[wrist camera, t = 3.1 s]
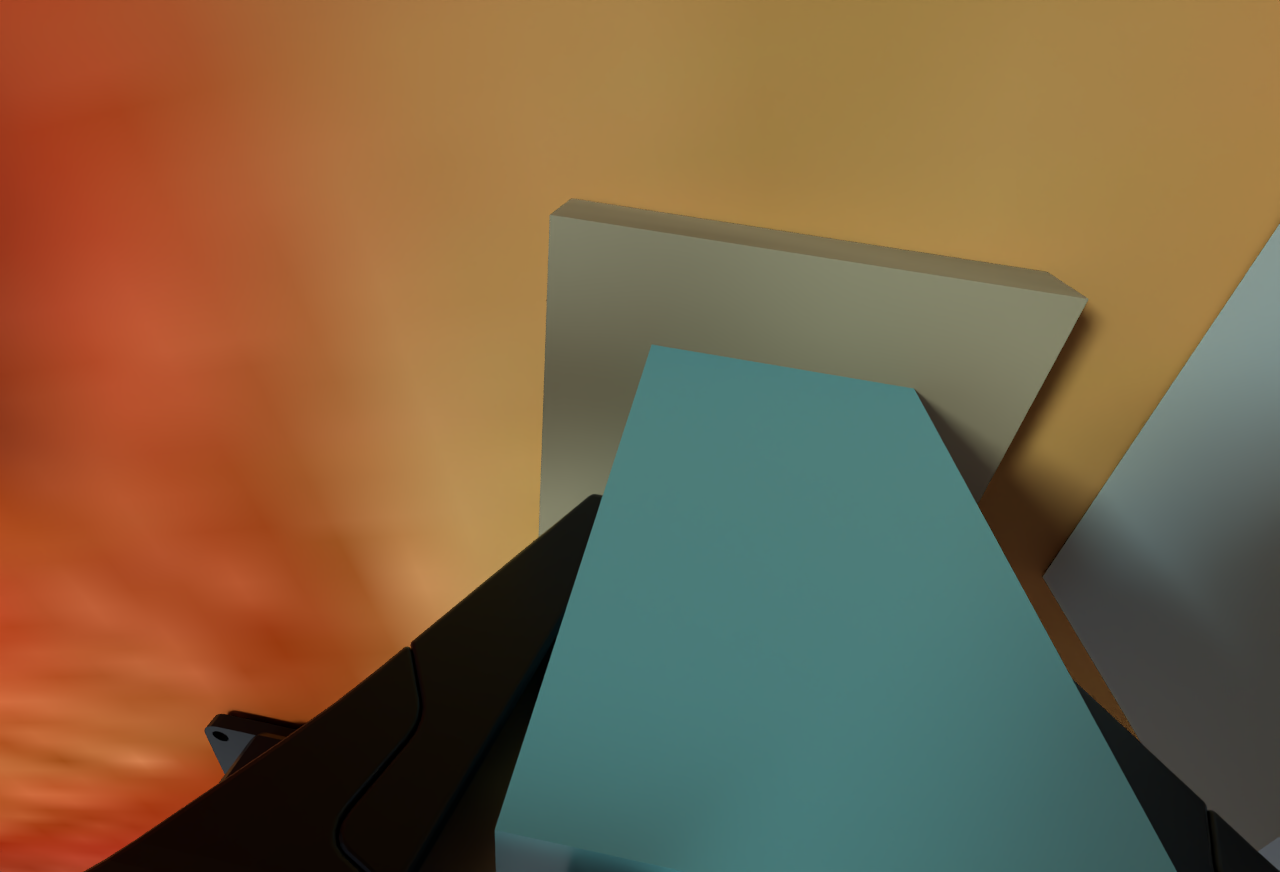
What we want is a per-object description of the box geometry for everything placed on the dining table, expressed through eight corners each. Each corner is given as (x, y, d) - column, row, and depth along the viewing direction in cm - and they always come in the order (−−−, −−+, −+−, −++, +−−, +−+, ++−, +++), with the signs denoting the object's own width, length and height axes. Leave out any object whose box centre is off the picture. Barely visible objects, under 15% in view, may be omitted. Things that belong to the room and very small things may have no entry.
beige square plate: (883, 606, 12) (896, 654, 11) (553, 543, 13) (537, 584, 12) (1047, 272, 9) (1088, 299, 8) (571, 198, 9) (550, 214, 8)
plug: (836, 578, 11) (956, 1225, 5) (624, 538, 11) (483, 1109, 5) (914, 388, 8) (1309, 1117, 3) (651, 344, 9) (466, 919, 3)
